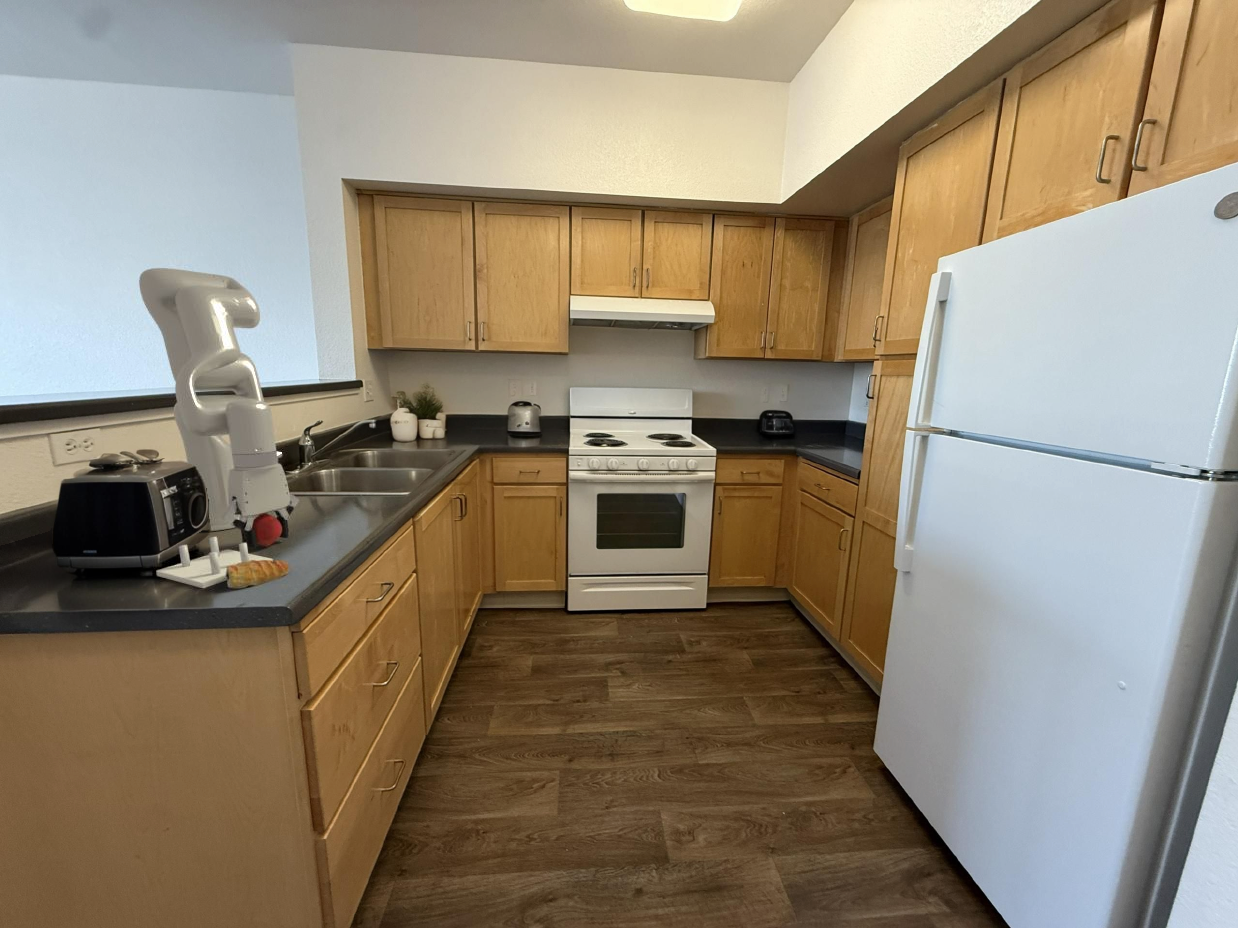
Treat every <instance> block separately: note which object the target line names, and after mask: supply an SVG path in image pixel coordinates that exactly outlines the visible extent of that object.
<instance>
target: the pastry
mask: <svg viewBox="0 0 1238 928" xmlns="http://www.w3.org/2000/svg"><path fill="white" fill-rule="evenodd" d="M288 573H290V567H289V563H288V562H287V561H283V560H277V559H276V560H273V561H271V560H259V561H256V560H251V561H249V562H242V563H238V564H237V565H235V566H233V565H230V566H227V570H226V578H227V580H226V581H227V582H226V584H227V587H228V588H230V589H236V590H241V589H245V588H247V587H248V586H259V585H262V584H264V583H269V582H271V581H274V580H277V579H280V578H283V576H285V575H288Z"/></svg>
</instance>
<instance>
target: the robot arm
mask: <svg viewBox="0 0 1238 928" xmlns="http://www.w3.org/2000/svg"><path fill="white" fill-rule="evenodd" d="M138 283H139V291H140V295H141V298H142V301H143V303H144V306H145V308H146V310H147V311H148V313H149V315H150V316H151V318H152V319H153V321H154V322H155V324H156V325H157V327H158V329H159V331H160V332H161V335H162V338H163V343H164V346H165V352H166V355H167V359H168V361H169V366H170V370H171V374H172V377H173V379H174V382H175V386H174V387H175V388H174V390H175V397H176V398H175V399H176V403H175V405H174V407H173V418H174V421H175V423H176V426H177V428H178V430H179V434H180V437H181V440H182V442H183V447H184V451H185V456H186V457H185V458H186V461H187V462H188V463H190V464H192V465H194V466H196V467H197V469H198V471H199V473H200V475H201V476H202V479H203V481H204V483H205V486H206V488H207V494H208V499H209V519H210V525H211V531H210V532H213V531H214V532H215V531H217V532H218V531H222V530H223V531H224V530H229V529H233V528H236V529H239V530H240V532H241V533H240V534H241V540H242V543H247V548H251V549H255V548H256V549H257V547H258V543H257V539H256V532H255V530H254V529H252V525H253V521H254V519H255V518H256V517H257V516H259V515H260V514H264V513H267V514H269V513H271V512H272V513H273V514H274V517H275V518H276V519H277V520H278V521H279V522H280V523H281V526H282V533H281V535H280V537H279V538H283V539H288V538H289V522H288V520H290V518H291V514H292V513H293V511H294V508H295V507H296V506H297V505H298V504H299V502H300V499H299V498H298V497H296V496H295V495H294V494H293V493H291V492H290V491H289V485H288V481H287V477H286V474H285V470H284V468H283V465H282V463H279V458H282V457H283V453H282V452H281V451H278V450H277V446H276V438H275V431H274V424H273V417H272V410H271V406H270V405H269V403H267V402H265V399H264V396H263V391H262V387H261V383H260V379H259V374H258V372H257V367H256V365H255V362H254V361H253V360H252V359H251V357H250V356H248V355H247V354H245V353H242V352H241V348H240V345H239V343H238V340H237V339H238V338H237V336H236V332H235V330H234V329H235V328H236V329H239V328H240V329H254V328H256V327H257V326H258V325H259V323H260V321H261V320H260V319H261V312H260V308H259V304H258V302H257V301H256V299H255V297H254V296H253V295H252V293H251V292H250V291H249V290H248V289H247V288H246V287H244V286H243V285H242V284H241V283H240V282H239V281H237V280H236V279H234V278H233V277H230V276H228V275H227V276H226V275H220V274H214V273H208V272H207V273H206V272H198V271H191V270H187V269H186V270H185V269H177V268H165V267H156V268H150V269H149V268H148V269H145V270H144V271H142V273H140V276H139V280H138ZM209 391H210V392H211V391H212V392H216V391H217V392H218V391H232V392H233V393H235V394H226V395H225V394H222V395H221V394H214V395H213V394H211V395H208V394H207V395H197V394H196V393H197V392H209ZM226 435H228V438H229V442H228V441H227V440H226V439H224V438H223V437H222V436H226ZM188 463H187V464H188Z"/></svg>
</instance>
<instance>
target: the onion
mask: <svg viewBox="0 0 1238 928" xmlns="http://www.w3.org/2000/svg"><path fill="white" fill-rule="evenodd" d="M252 529H254V530H255V532H256V539H257V544H259V545H261V546H262V547H270V546H271V545H273V544H274V543H275V542H276V541H278V540H279V538H281V537H280V535H281V533H282V526H281V523H280V522H279V521H278V520H277V517H276V516H274V515H271V514H269V513H264V514H260V515H257V516H255V519H254V521H253V525H252Z"/></svg>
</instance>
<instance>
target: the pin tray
mask: <svg viewBox="0 0 1238 928" xmlns="http://www.w3.org/2000/svg"><path fill="white" fill-rule="evenodd" d="M208 540H209V546H210V547H209V548H210V552H208V554H207V555H204V556H201V557H197V558H193V559H190V553H189V548H188V544H181V545H179V546H178V551H179V555H180V563H177V564H175V565H171V566H167V567H164V568H161V569H157V570H156V577H160V578H165V579H166V580H172V581H175V582H178V583H183V584H186V585H190V586H194V587H196V588H201V589H206V588H208V587H211V586H214V585H216V584H220V583H222V582H225V581H228V580H227V578H226V570H227V566H230V565H233V566H235V565H237V564H238V563H242V562H249V561H251V560H256V561H259V560H271V561H274V559H273V558H270V557H265V556H260V555H256V554H253V553H249V551H248V547H247V543H243V542H241V543H239V544H238V547H239V550H234V549H233V550H232V549H229V548H228V549H224V550H221V551H220V547H219V542H218V536H211V537H208Z"/></svg>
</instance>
